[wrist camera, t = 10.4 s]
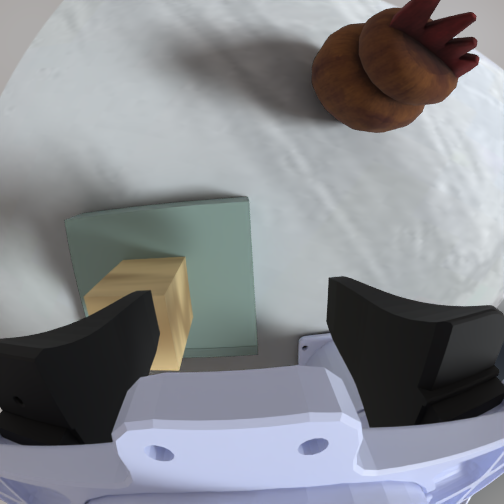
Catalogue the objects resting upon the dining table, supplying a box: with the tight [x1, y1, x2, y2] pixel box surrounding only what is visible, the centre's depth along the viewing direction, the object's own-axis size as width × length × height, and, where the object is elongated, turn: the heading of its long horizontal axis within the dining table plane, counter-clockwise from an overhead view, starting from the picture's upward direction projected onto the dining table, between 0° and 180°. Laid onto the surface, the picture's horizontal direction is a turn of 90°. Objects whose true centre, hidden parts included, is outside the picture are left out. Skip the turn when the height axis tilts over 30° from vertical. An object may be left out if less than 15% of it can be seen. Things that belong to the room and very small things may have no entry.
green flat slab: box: [64, 197, 258, 358], centre depth 21 cm, size 11×13×3 cm
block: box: [84, 257, 193, 371], centre depth 17 cm, size 4×4×6 cm
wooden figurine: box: [312, 0, 479, 133], centre depth 12 cm, size 7×6×15 cm
